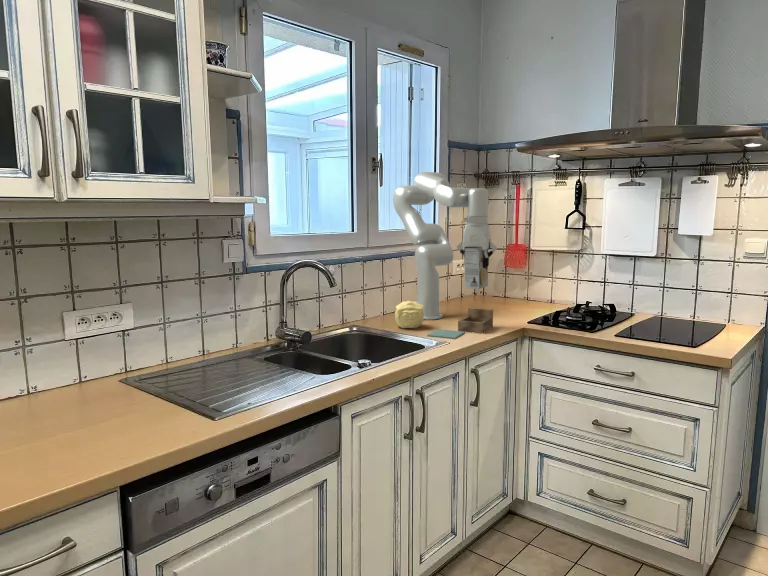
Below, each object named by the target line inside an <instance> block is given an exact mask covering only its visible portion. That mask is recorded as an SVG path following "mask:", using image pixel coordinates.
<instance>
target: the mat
mask: <svg viewBox="0 0 768 576" xmlns="http://www.w3.org/2000/svg"><path fill="white" fill-rule="evenodd" d="M464 334H466V332H462V331H458V330H453V329H449V330H448V329H441V328H439V329H435V330H433V331H432V332H430V333H427V334H426V337H432V338H440V339H442V338H443V339H450V340H451V339H452V340H456V339H458V338H459V337H461V336H463V335H464Z"/></svg>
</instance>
